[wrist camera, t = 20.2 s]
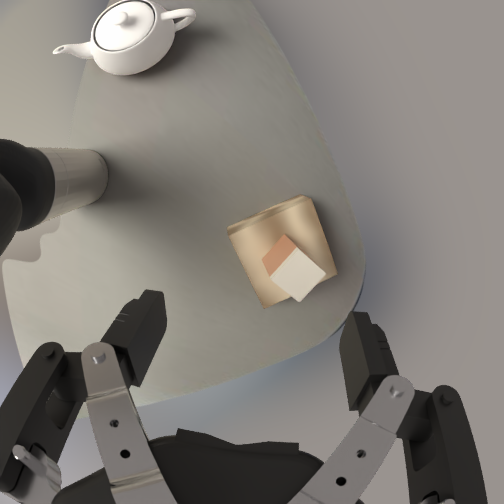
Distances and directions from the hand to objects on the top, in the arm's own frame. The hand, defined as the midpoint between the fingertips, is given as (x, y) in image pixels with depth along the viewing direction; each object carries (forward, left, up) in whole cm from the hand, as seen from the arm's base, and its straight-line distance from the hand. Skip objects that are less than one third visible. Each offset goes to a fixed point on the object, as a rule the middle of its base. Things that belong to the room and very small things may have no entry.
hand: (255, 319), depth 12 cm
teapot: (-12, +30, -35) cm, 48 cm away
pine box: (+8, -8, -35) cm, 37 cm away
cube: (+7, -8, -29) cm, 31 cm away
